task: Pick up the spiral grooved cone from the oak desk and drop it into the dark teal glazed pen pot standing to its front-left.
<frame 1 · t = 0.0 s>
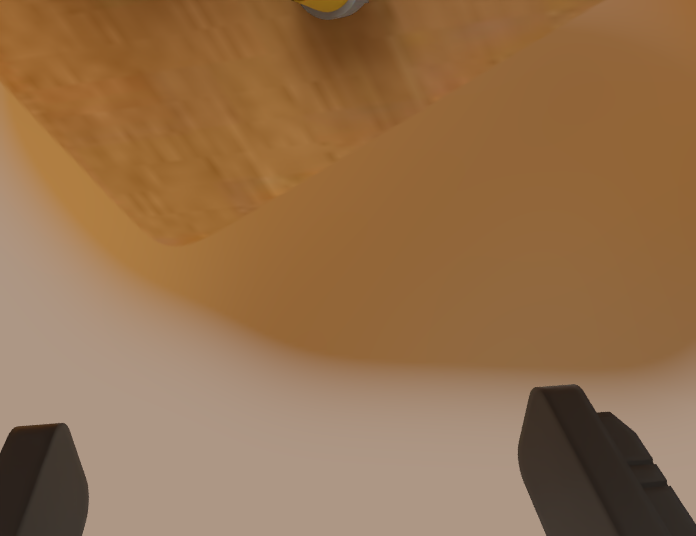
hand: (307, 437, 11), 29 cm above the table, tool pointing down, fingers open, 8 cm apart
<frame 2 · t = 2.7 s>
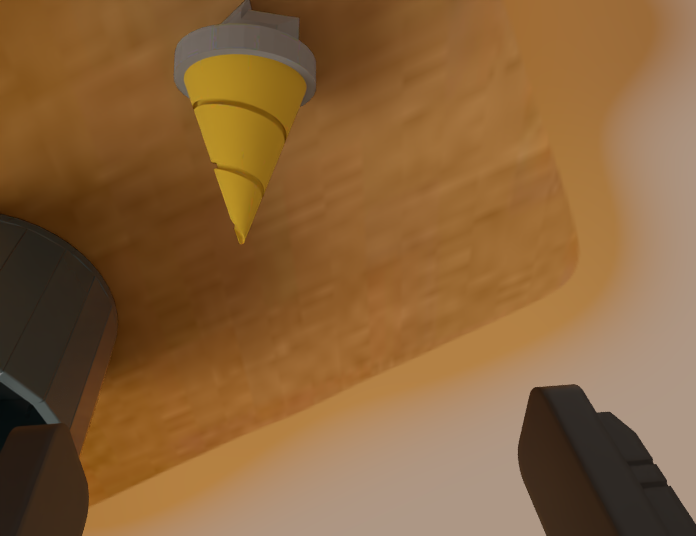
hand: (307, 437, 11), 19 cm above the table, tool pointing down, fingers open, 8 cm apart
spiral grooved cone: (258, 81, 26), on the table
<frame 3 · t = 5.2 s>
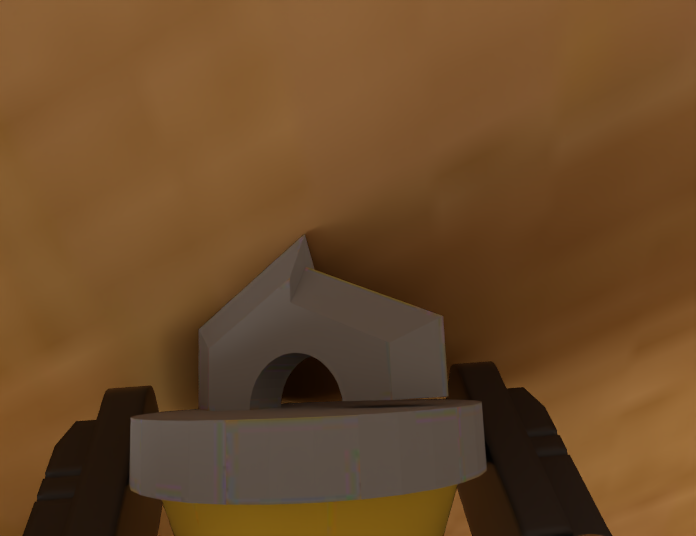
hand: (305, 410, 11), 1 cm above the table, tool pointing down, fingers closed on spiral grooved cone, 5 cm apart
spiral grooved cone: (326, 374, 12), on the table, touching gripper
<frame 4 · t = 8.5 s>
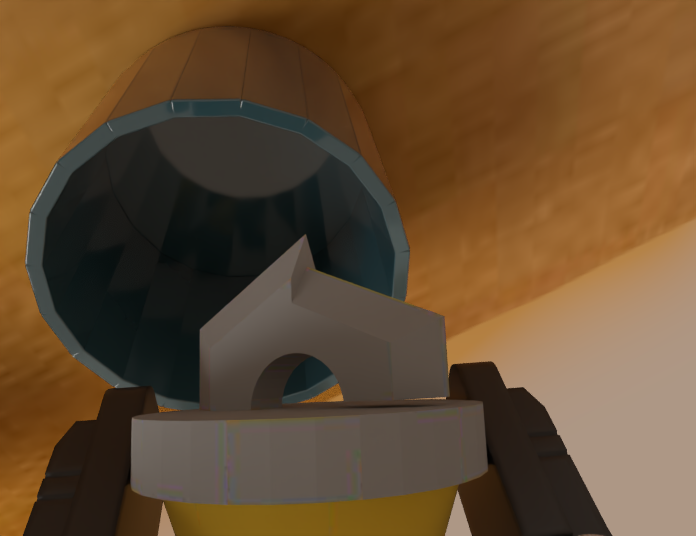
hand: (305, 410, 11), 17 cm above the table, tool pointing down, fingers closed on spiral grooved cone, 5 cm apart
spiral grooved cone: (327, 374, 12), point 16 cm above the table, touching gripper
pen pot: (239, 166, 27), on the table
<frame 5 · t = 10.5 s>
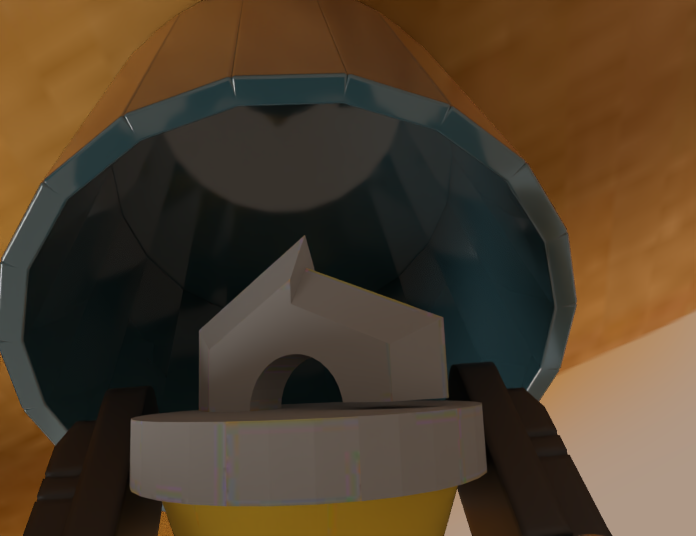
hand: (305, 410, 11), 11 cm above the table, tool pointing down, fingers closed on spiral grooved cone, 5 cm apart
spiral grooved cone: (327, 375, 12), point 10 cm above the table, touching gripper
pen pot: (287, 176, 20), on the table
when the fingers open (7 cm above the table, at t = 11.9 s): spiral grooved cone drops 6 cm, resting on pen pot.
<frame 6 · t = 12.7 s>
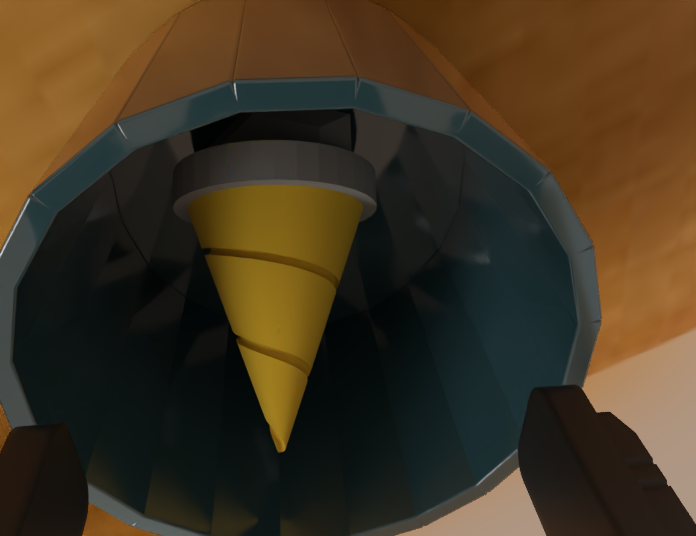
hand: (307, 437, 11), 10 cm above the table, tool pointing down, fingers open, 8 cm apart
spiral grooved cone: (290, 187, 19), resting on pen pot
pen pot: (292, 181, 20), on the table
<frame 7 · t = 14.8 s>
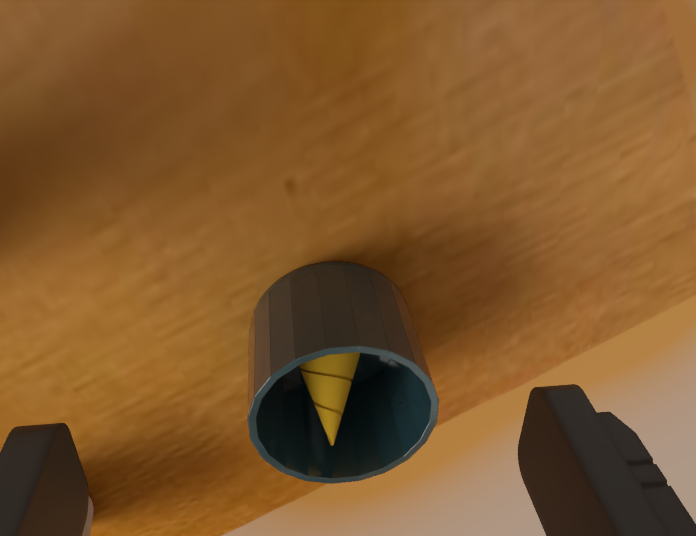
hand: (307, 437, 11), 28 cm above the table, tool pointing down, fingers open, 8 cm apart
spiral grooved cone: (330, 332, 45), resting on pen pot
pen pot: (330, 328, 45), on the table
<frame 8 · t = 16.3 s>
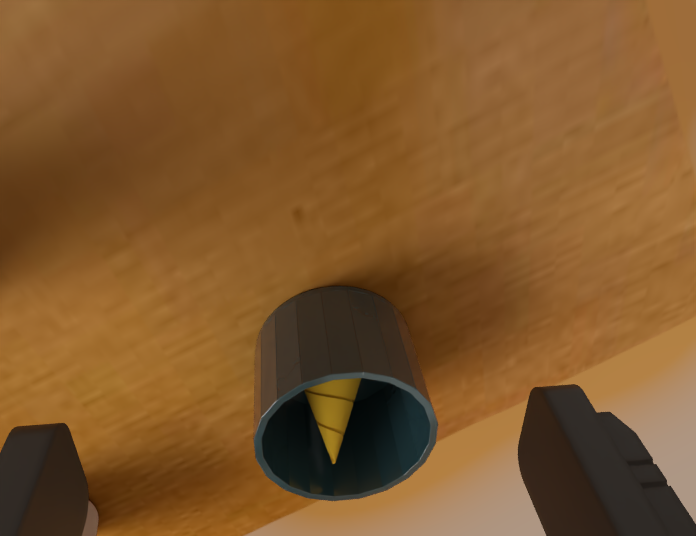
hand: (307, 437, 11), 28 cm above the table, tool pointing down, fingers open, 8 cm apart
coffee cup: (55, 510, 53), on the table
spiral grooved cone: (333, 352, 46), resting on pen pot
pen pot: (333, 349, 47), on the table
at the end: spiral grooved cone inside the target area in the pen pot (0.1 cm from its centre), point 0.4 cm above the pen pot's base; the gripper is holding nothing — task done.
